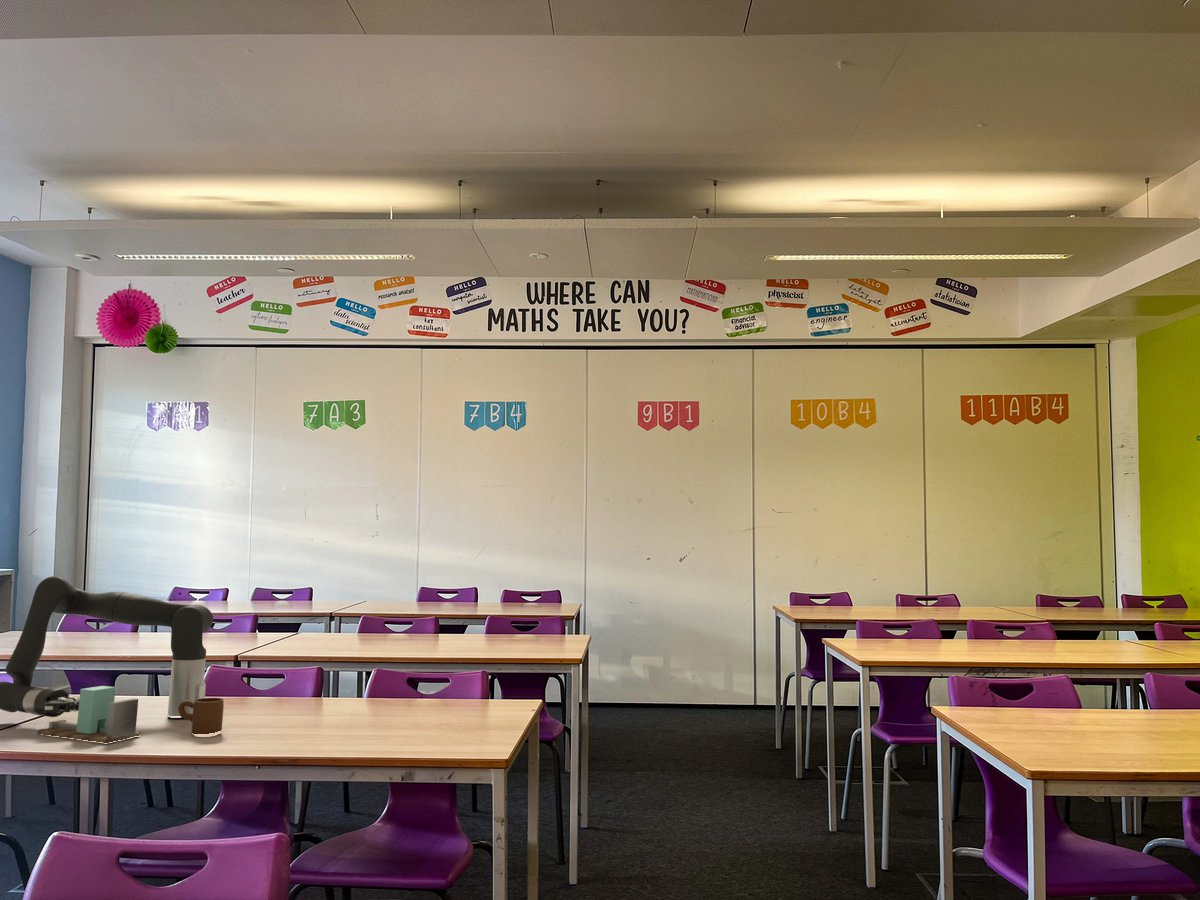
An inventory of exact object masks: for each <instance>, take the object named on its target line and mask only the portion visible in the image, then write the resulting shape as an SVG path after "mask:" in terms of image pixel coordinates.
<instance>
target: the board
mask: <svg viewBox="0 0 1200 900" xmlns="http://www.w3.org/2000/svg"><path fill="white" fill-rule="evenodd" d="M76 731H77V730H70V729H62V728H52V729H51V728H49V727H48V728H42V729H37V734H43V735H51V736H59V737H67V738H74V739H81V740H88V741H96V742H103V743H109V742H113V741H118V740H123V739H127V738H130V737H134V736H139V735H140V736H141V732H140V731H136V733H135V734H131V735H127V736H122V737H117V738H113V739H110V738H106V734H99V733H92V734H85V733H78V732H76Z"/></svg>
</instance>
